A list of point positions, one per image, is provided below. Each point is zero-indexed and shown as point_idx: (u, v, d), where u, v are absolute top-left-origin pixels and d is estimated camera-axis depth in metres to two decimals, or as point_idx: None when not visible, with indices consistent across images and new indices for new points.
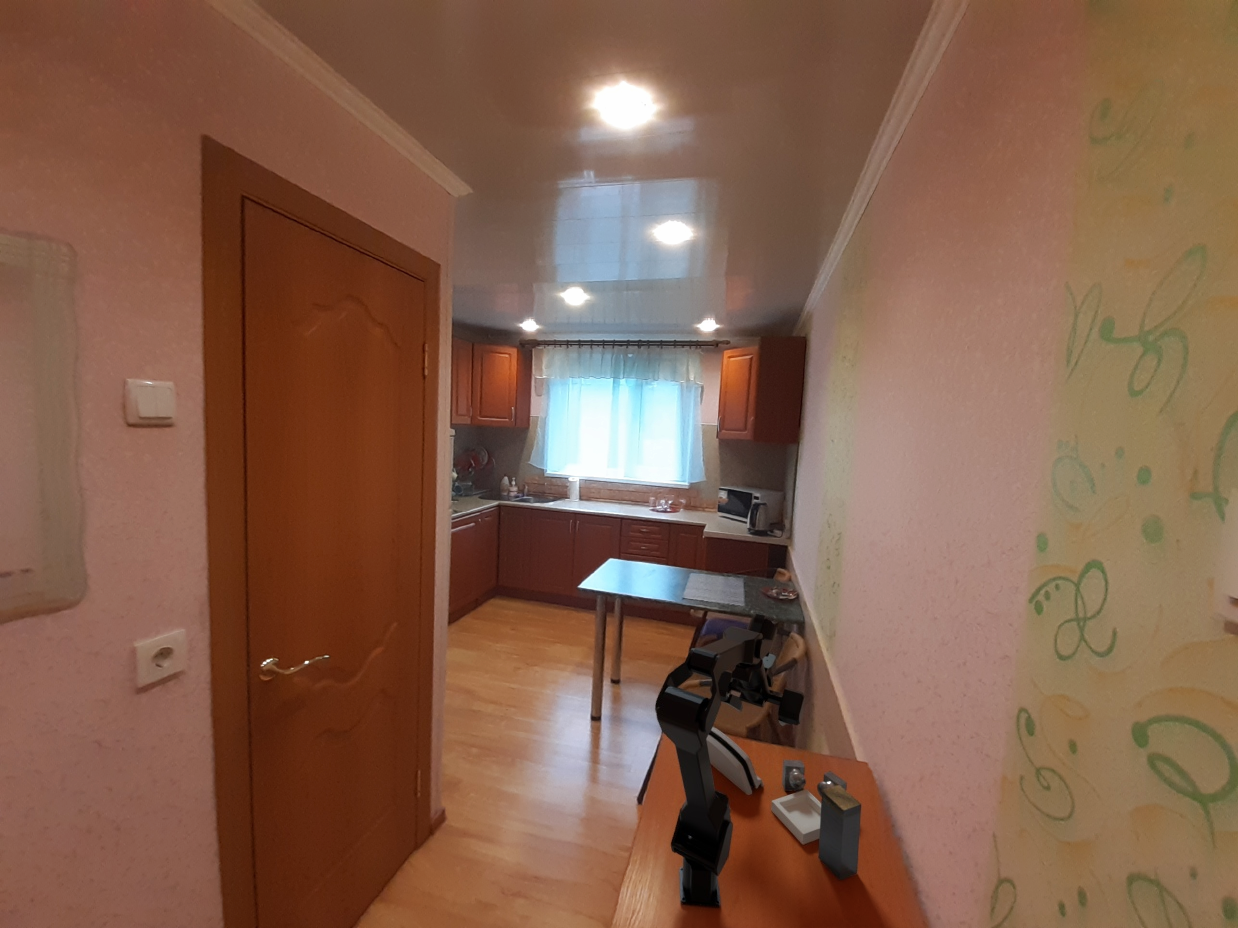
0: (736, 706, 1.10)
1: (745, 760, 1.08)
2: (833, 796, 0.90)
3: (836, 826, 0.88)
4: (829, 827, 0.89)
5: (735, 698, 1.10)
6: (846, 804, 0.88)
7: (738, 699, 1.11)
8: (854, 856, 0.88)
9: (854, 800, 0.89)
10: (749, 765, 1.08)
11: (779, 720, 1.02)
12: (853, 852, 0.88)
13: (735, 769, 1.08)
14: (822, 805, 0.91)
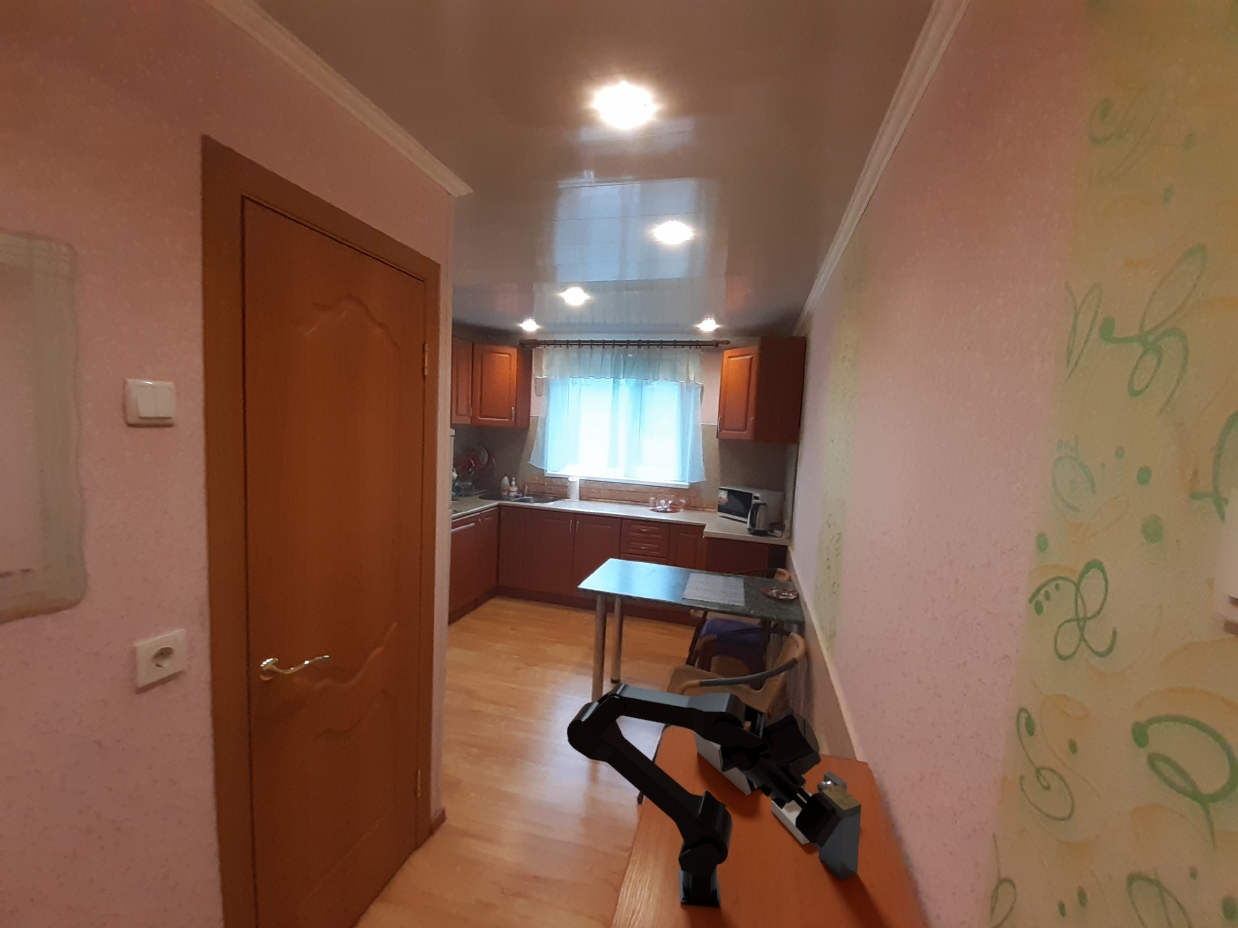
0: None
1: None
2: (833, 796, 0.90)
3: None
4: None
5: None
6: (846, 804, 0.88)
7: None
8: (854, 856, 0.88)
9: (854, 800, 0.89)
10: None
11: None
12: (853, 852, 0.88)
13: (734, 769, 1.08)
14: None
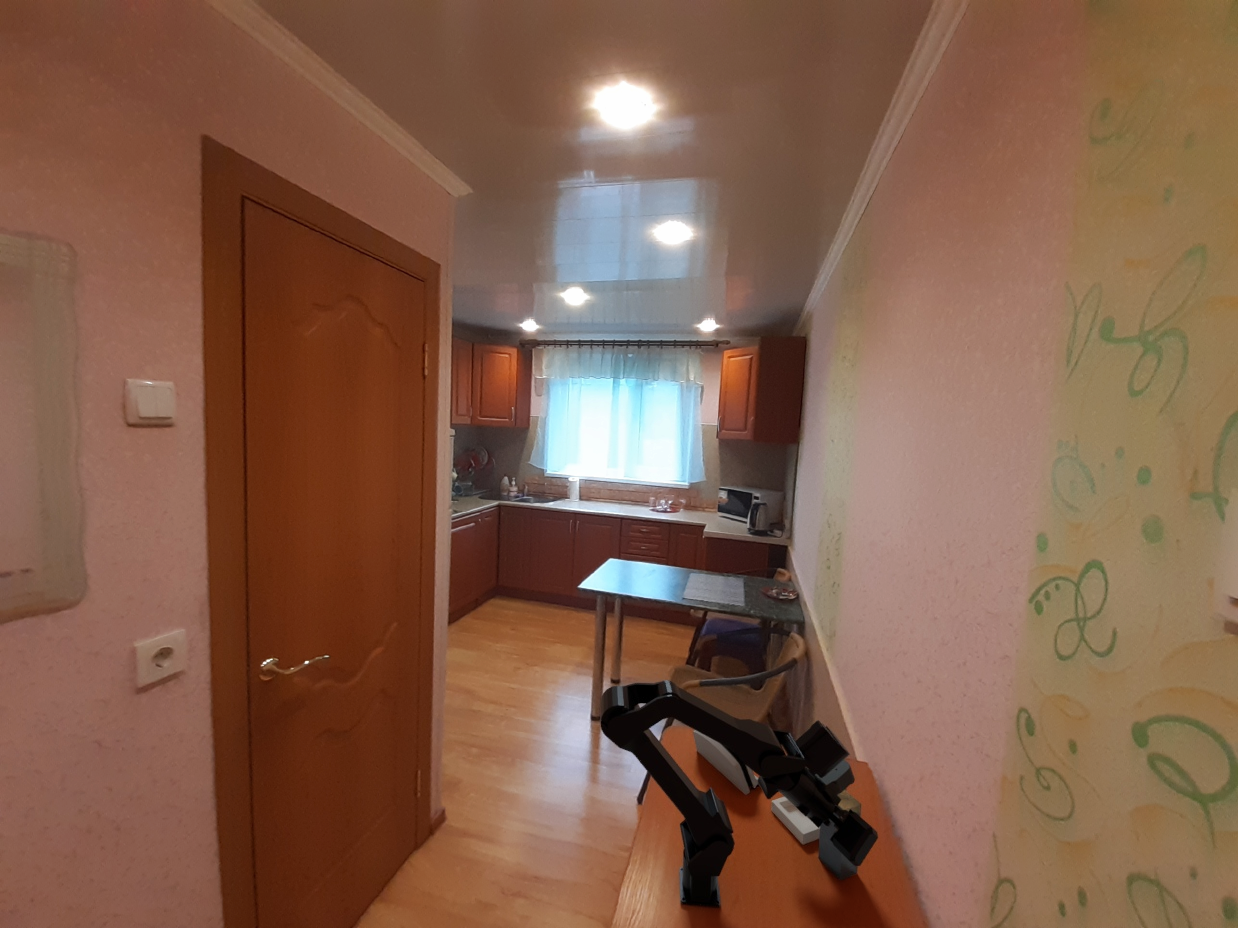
0: None
1: None
2: None
3: None
4: (829, 827, 0.89)
5: None
6: (846, 804, 0.88)
7: None
8: None
9: (854, 800, 0.89)
10: None
11: (831, 840, 0.84)
12: None
13: (733, 768, 1.08)
14: None
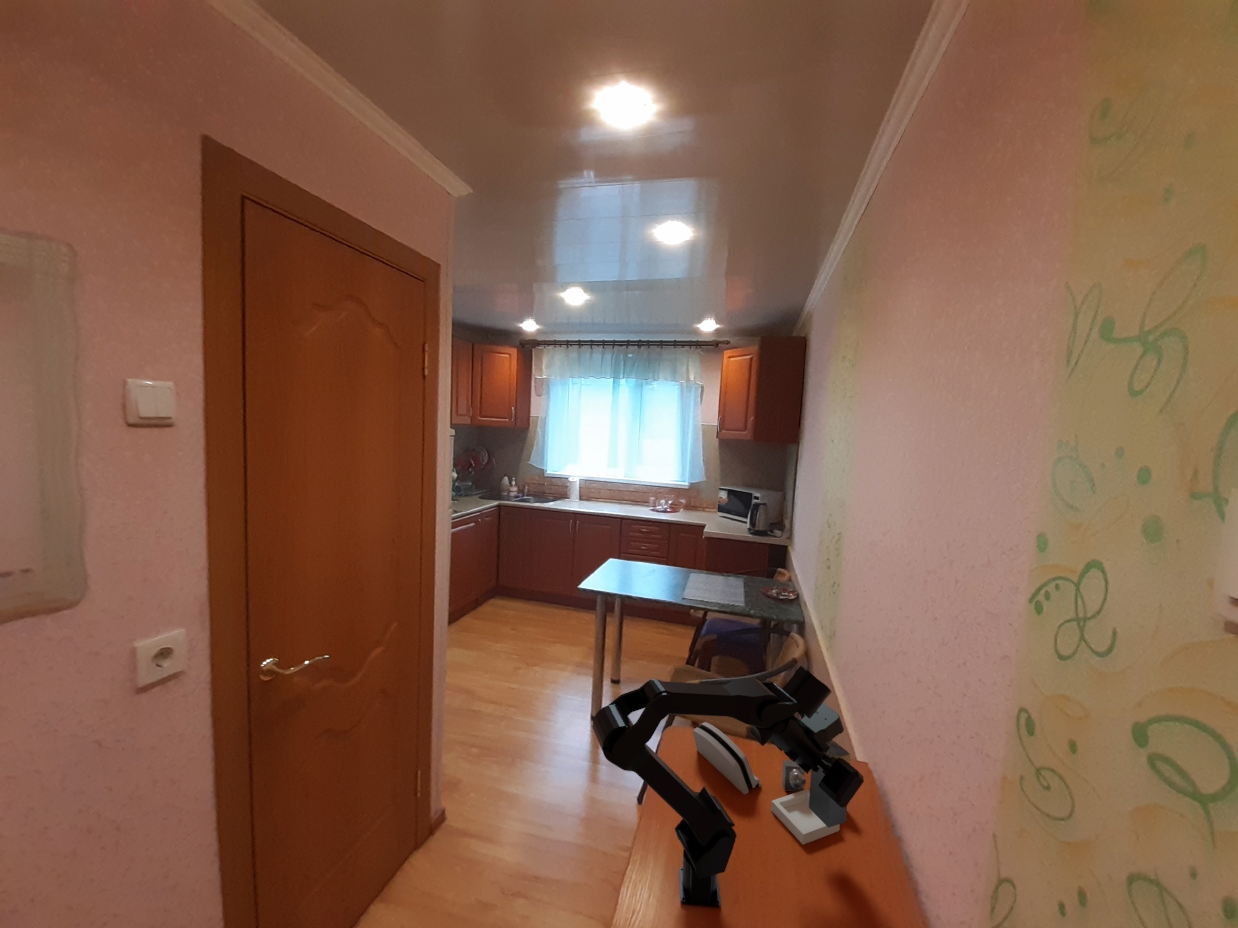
0: None
1: (741, 759, 1.08)
2: None
3: None
4: (819, 777, 0.92)
5: None
6: (835, 753, 0.91)
7: None
8: None
9: (843, 750, 0.92)
10: (746, 764, 1.08)
11: (819, 786, 0.88)
12: None
13: (732, 768, 1.08)
14: None
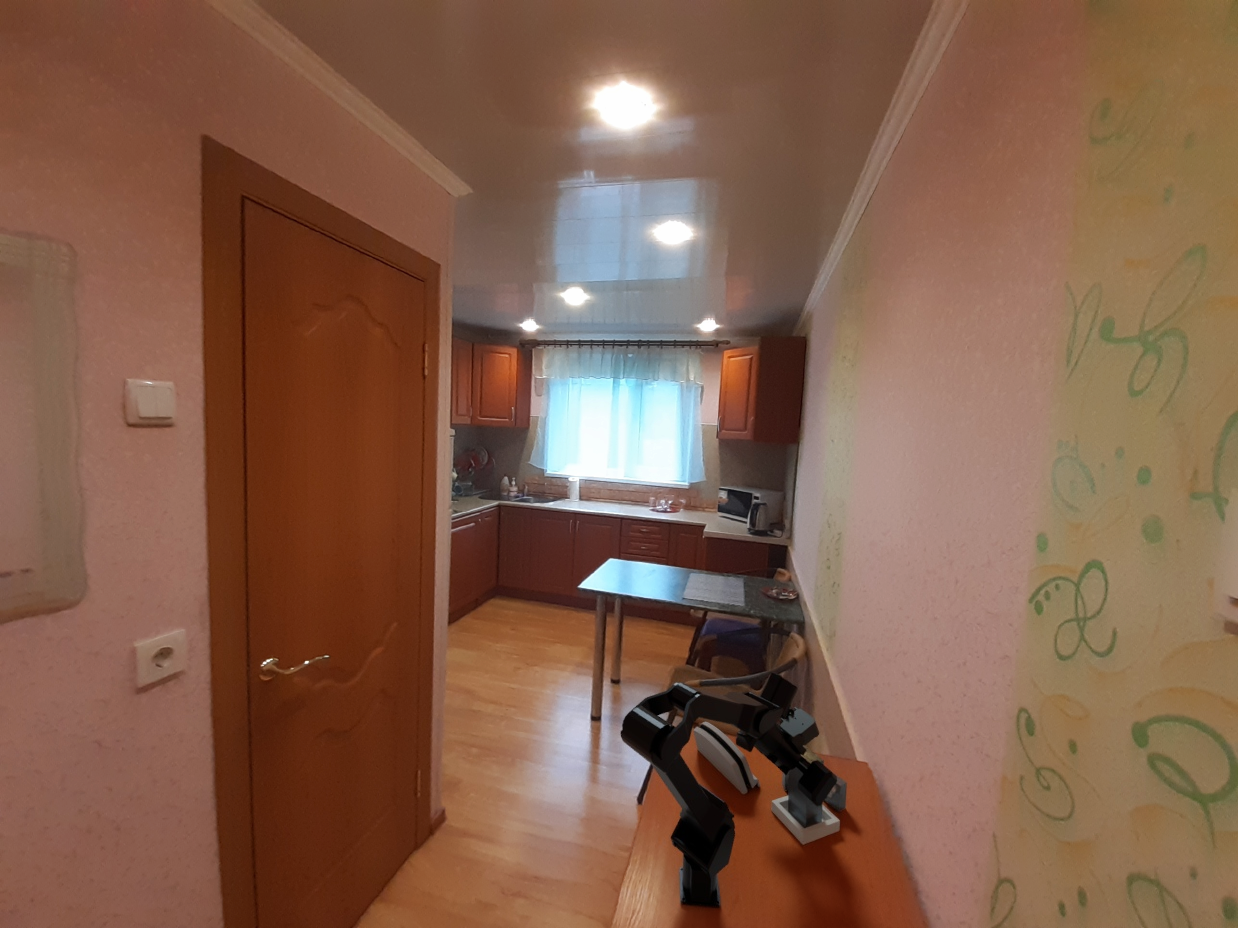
0: None
1: (740, 758, 1.08)
2: None
3: None
4: (796, 782, 1.00)
5: None
6: (810, 761, 0.98)
7: None
8: (818, 807, 0.99)
9: (817, 757, 0.99)
10: (745, 764, 1.08)
11: None
12: None
13: (730, 767, 1.08)
14: None
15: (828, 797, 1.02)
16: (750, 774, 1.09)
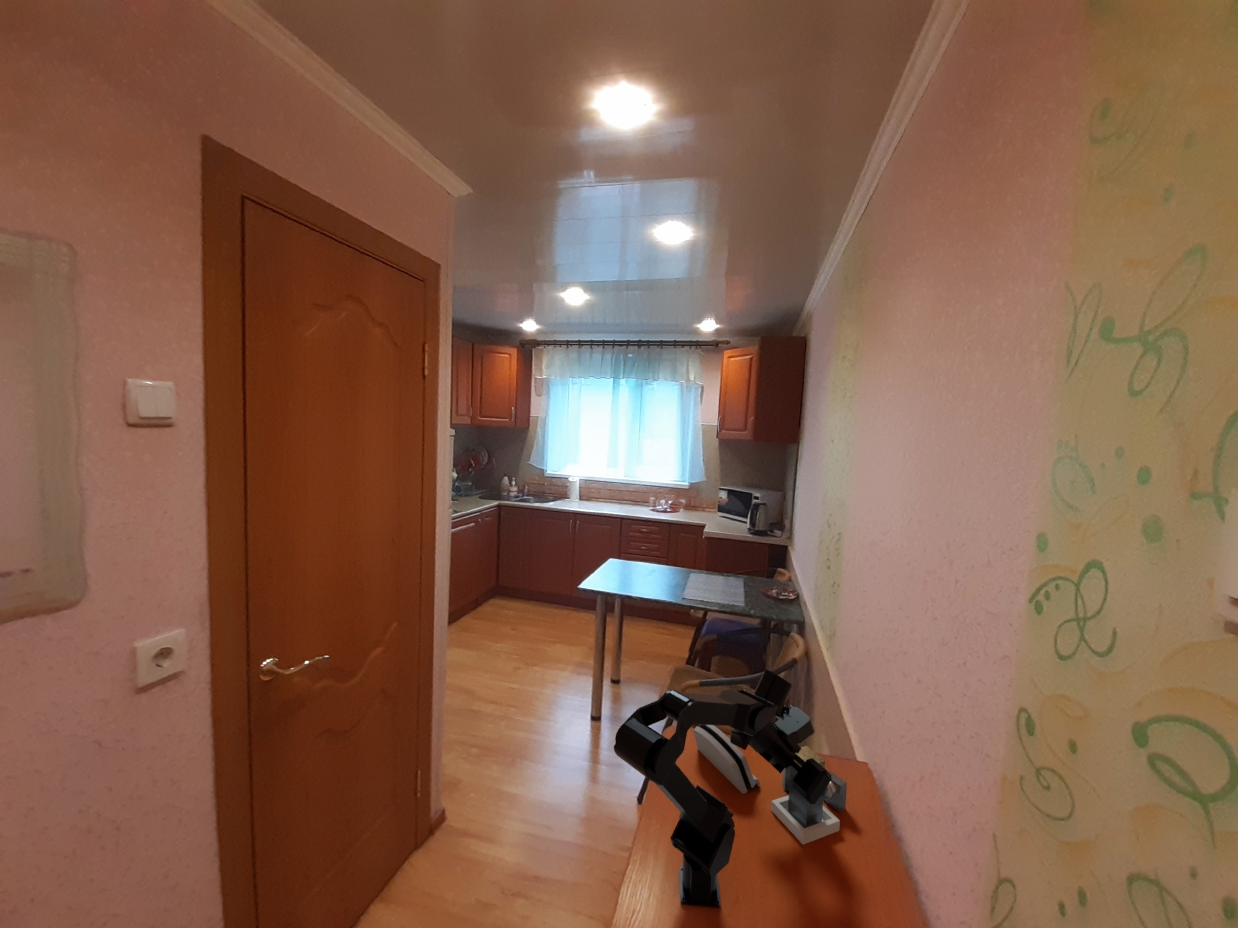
0: None
1: (740, 758, 1.08)
2: (800, 754, 1.00)
3: None
4: None
5: None
6: None
7: None
8: (819, 808, 0.99)
9: (819, 758, 0.99)
10: (744, 764, 1.08)
11: None
12: (818, 804, 0.98)
13: (730, 767, 1.08)
14: None
15: (828, 797, 1.02)
16: (750, 774, 1.09)
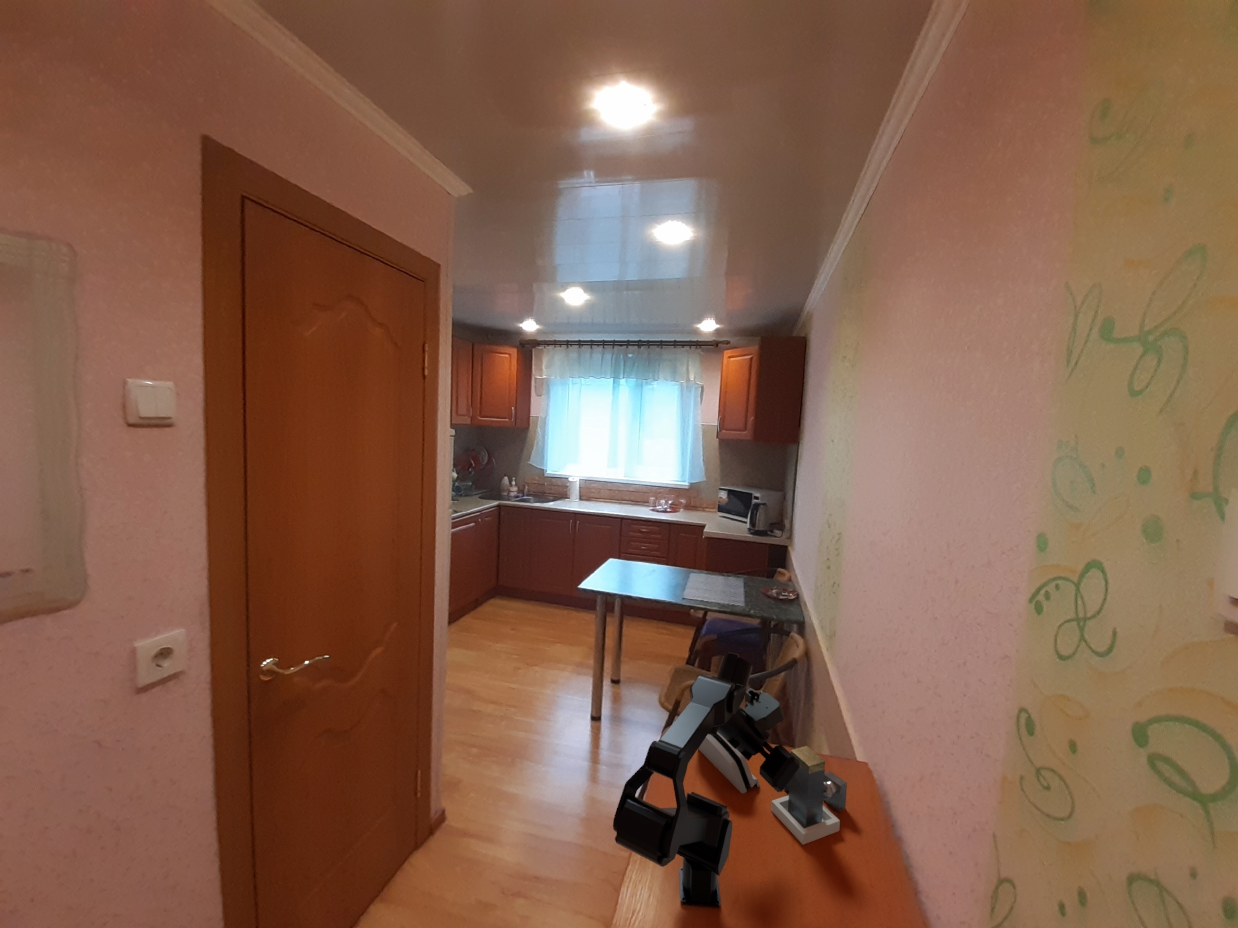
0: None
1: (739, 758, 1.08)
2: (800, 754, 1.00)
3: (803, 781, 0.98)
4: (797, 782, 1.00)
5: None
6: (811, 761, 0.98)
7: None
8: (819, 808, 0.99)
9: (819, 758, 0.99)
10: (744, 764, 1.08)
11: None
12: (818, 804, 0.98)
13: (729, 766, 1.08)
14: None
15: (828, 797, 1.02)
16: (749, 774, 1.09)
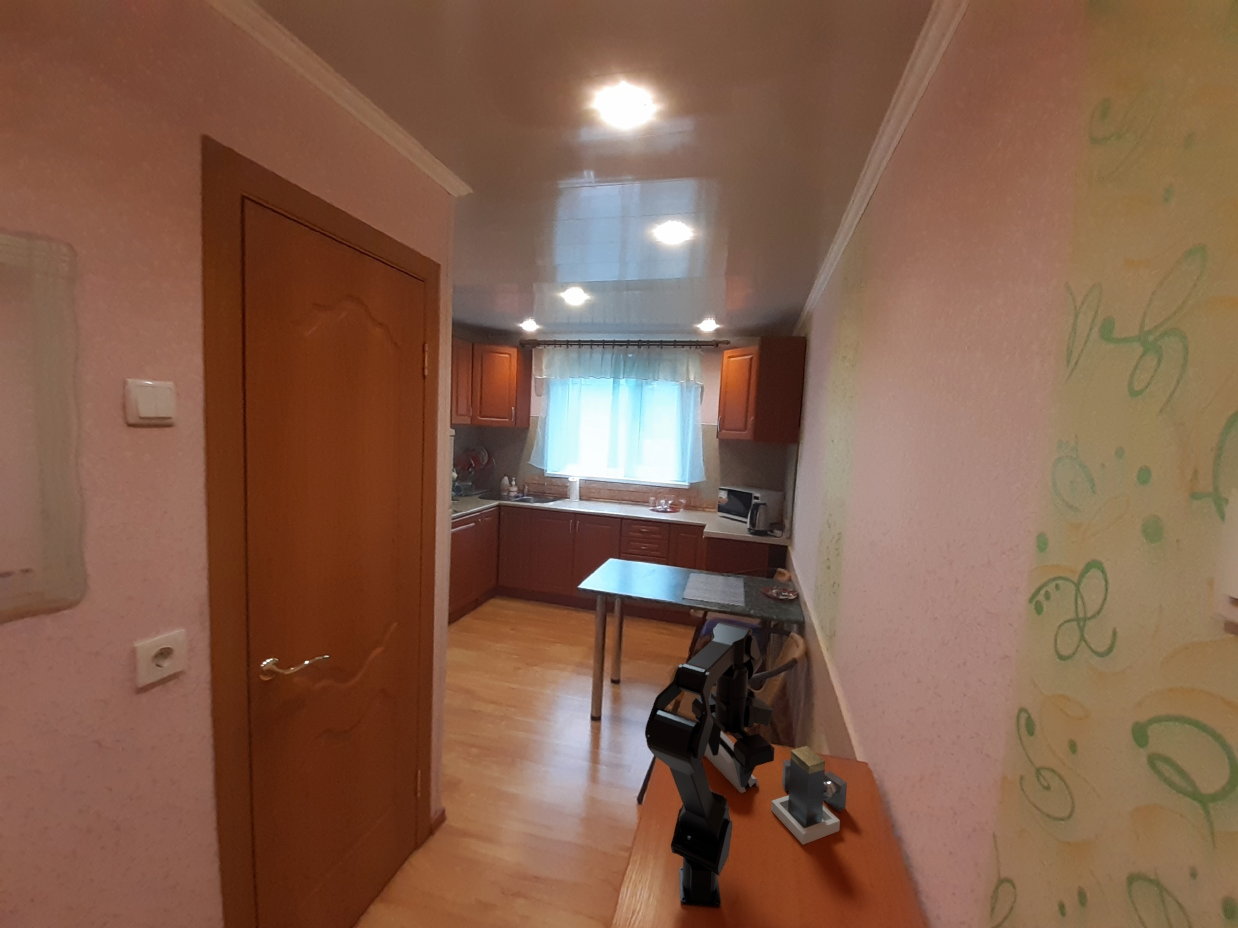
0: (709, 739, 0.99)
1: None
2: (800, 754, 1.00)
3: (803, 781, 0.98)
4: (797, 782, 1.00)
5: (712, 730, 1.00)
6: (811, 761, 0.98)
7: (716, 736, 1.00)
8: (819, 808, 0.99)
9: (819, 758, 0.99)
10: None
11: (733, 756, 0.89)
12: (818, 804, 0.98)
13: (728, 766, 1.08)
14: (791, 763, 1.01)
15: (828, 797, 1.02)
16: None
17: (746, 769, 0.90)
